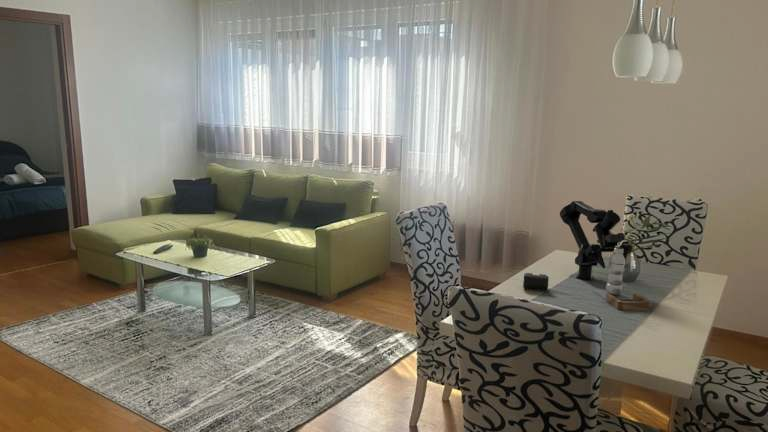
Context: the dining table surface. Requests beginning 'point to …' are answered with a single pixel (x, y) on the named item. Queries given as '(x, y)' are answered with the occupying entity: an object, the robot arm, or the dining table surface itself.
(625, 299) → the felt coaster
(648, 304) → the walnut collar
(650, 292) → the dining table surface
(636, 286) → the dining table surface
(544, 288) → the end cap
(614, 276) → the plastic bottle
